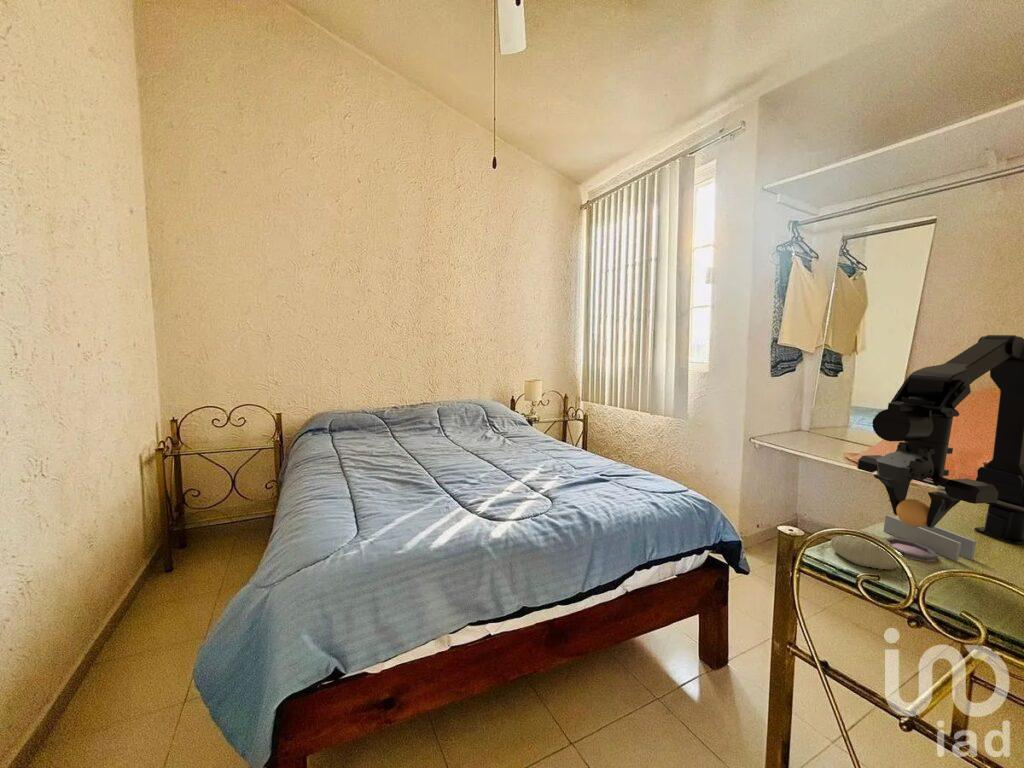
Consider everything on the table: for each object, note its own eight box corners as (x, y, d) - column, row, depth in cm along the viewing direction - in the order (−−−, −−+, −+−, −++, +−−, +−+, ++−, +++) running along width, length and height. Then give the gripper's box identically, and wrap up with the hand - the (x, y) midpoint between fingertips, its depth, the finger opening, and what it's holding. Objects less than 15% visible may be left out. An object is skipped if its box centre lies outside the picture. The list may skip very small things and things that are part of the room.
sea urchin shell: (846, 532, 82) (885, 516, 76) (875, 574, 77) (919, 561, 71) (815, 538, 78) (853, 522, 73) (843, 582, 74) (886, 570, 68)
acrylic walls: (899, 529, 89) (902, 513, 88) (973, 559, 77) (976, 541, 77) (883, 531, 88) (885, 515, 87) (955, 561, 76) (958, 543, 76)
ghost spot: (900, 539, 84) (900, 536, 84) (947, 559, 76) (947, 555, 76) (871, 542, 82) (871, 538, 82) (916, 563, 75) (917, 559, 74)
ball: (906, 519, 82) (910, 494, 81) (938, 531, 77) (942, 504, 76) (887, 520, 80) (891, 495, 80) (918, 532, 76) (922, 506, 75)
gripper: (841, 428, 84) (831, 503, 86) (959, 455, 66) (943, 549, 68) (883, 428, 86) (872, 500, 88) (1008, 453, 68) (991, 544, 70)
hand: (913, 520), depth 79 cm, fingers closed on ball, 5 cm apart
